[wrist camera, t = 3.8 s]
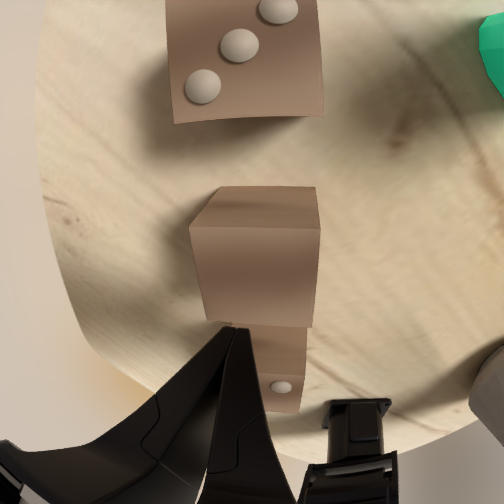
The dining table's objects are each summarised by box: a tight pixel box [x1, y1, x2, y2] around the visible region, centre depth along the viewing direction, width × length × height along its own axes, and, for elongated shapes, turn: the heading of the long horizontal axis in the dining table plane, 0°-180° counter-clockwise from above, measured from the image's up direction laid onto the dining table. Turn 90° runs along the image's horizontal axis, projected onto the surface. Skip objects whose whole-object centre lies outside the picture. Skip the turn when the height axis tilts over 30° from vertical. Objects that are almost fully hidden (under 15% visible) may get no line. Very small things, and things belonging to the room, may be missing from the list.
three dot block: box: [165, 0, 323, 124], centre depth 9 cm, size 5×5×5 cm
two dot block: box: [231, 323, 307, 413], centre depth 18 cm, size 5×5×5 cm
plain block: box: [189, 186, 321, 328], centre depth 14 cm, size 5×5×5 cm
